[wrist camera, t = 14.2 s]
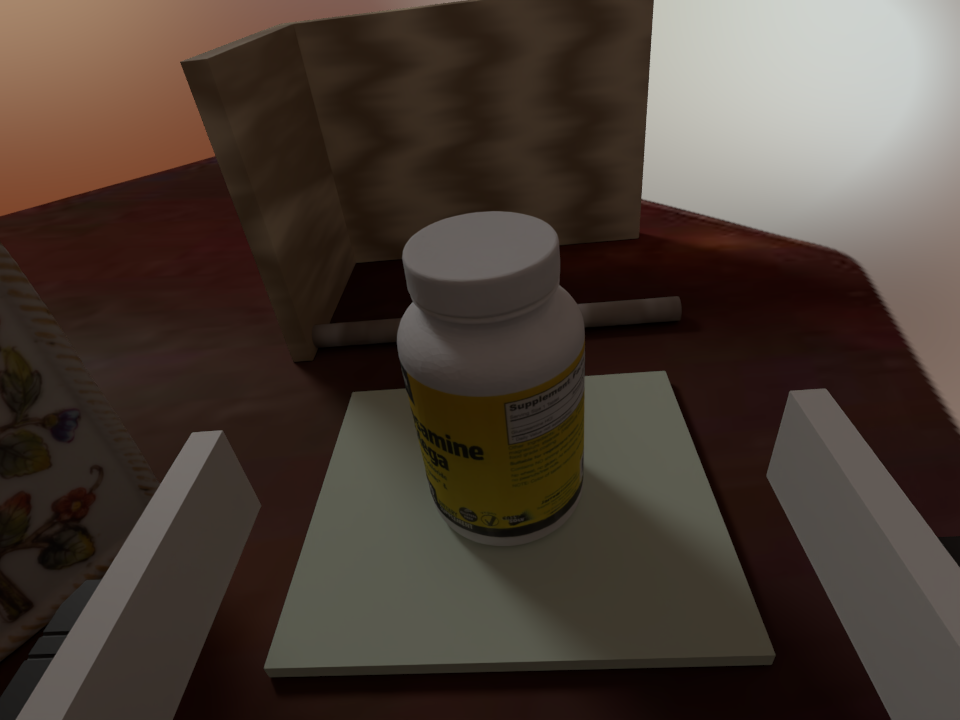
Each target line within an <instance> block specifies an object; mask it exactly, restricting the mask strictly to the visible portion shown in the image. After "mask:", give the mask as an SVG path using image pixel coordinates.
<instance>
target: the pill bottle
mask: <svg viewBox="0 0 960 720" xmlns="http://www.w3.org/2000/svg"><path fill="white" fill-rule="evenodd" d="M402 260H403V266H404V271H405V276H406V282H407V289H408V292H409V294H410V296H411V299H412V301H413V302H412V303H411V304H410V306H409V307H408V308H407V310H406V311H405V313H404V315H403V317H402V319H401V322H400V325H399V328H398V333H397V347H398V355H399V359H400V364H401V368H402V373H403V377H404V382H405V388H406V391H407V394H408V398H409V402H410V407H411V411H412V415H413V419H414V424H415V428H416V431H417V436H418V440H419V445H420V448H421V453H422V457H423V461H424V465H425V471H426V476H427V480H428V483H429V487H430V491H431V495H432V497H433V501H434V504H435V506H436V508H437V510H438V512H439V514H440V515H441V517H442V518H443V519H444V521H445V522H446V523H447V524H448V525H449V526H450V527H451V528H452V529H453V530H455V531H456V532H457V533H459V534H460V535H462V536H464V537H465V538H467V539H469V540H472V541H474V542H477V543H481V544H486V545H493V546H515V545H521V544H526V543H529V542H532V541H535V540H538V539H540V538H542V537H545V536H547V535H549V534H550V533H552V532H554V531H555V530H557V529H558V528H559V527H561V526H562V525H563V524H564V523H565V522H566V521H567V520H568V518H569V517H570V516H571V515H572V513H573V512H574V510H575V509H576V507H577V505H578V503H579V500H580V497H581V494H582V488H583V470H584V411H585V410H584V400H585V378H584V377H585V329H584V321H583V317H582V314H581V311H580V309H579V307H578V305H577V303H576V302H575V300H574V299H573V298H572V296H571V295H570V294H569V293H568V292H567V291H566V290H565V289H564V288H562V287H561V286H560V285H559V282H560V250H559V239H558V235H557V233H556V232H555V230H554V229H553V228H552V227H551V226H550V225H549V224H548V223H546V222H544V221H543V220H541V219H538V218H536V217H533V216H529V215H525V214H520V213H514V212H503V211H488V212H475V213H468V214H463V215H458V216H454V217H450V218H446V219H443V220H440V221H438V222H435V223H433V224H431V225H429V226H427V227H425V228H423V229H422V230H420V231H418V232H417V233H416V234H414V235H413V236H412V237H411V238H410V239H409V240H408V242H407V243H406V245H405V247H404V250H403V255H402Z"/></svg>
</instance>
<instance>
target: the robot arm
mask: <svg viewBox="0 0 960 720" xmlns="http://www.w3.org/2000/svg"><path fill="white" fill-rule="evenodd" d="M766 476H767V478H768V480H769V482H770V484H771V486H772V488H773V490H774V492H775V494H776V496H777V498H778V499H779V501H780V503H781V505H782V507H783V509H784V511H785V513H786V515H787V517H788V519H789V521H790V523H791V525H792V527H793V529H794V531H795V533H796V535H797V536H798V538H799V540H800V542H801V544H802V546H803V548H804V550H805V552H806V554H807V556H808V558H809V560H810V562H811V564H812V566H813V568H814V570H815V572H816V574H817V575H818V577H819V579H820V581H821V583H822V585H823V587H824V589H825V591H826V593H827V595H828V597H829V599H830V601H831V603H832V605H833V607H834V609H835V611H836V613H837V614H838V616H839V618H840V620H841V622H842V624H843V626H844V628H845V630H846V632H847V634H848V636H849V638H850V640H851V642H852V644H853V646H854V648H855V650H856V651H857V653H858V655H859V657H860V659H861V661H862V663H863V665H864V667H865V669H866V671H867V673H868V675H869V677H870V679H871V681H872V683H873V685H874V687H875V689H876V690H877V692H878V694H879V696H880V698H881V700H882V702H883V704H884V706H885V708H886V710H887V712H888V714H889V716H890V718H891V720H960V536H956V537H936V535H935V534H934V533H933V531H932V530H931V529H930V527H929V526H928V525H927V523H926V522H925V521H924V519H923V518H922V517H921V515H920V514H919V512H918V511H917V510H916V508H915V507H914V506H913V504H912V503H911V502H910V500H909V499H908V498H907V496H906V495H905V494H904V492H903V491H902V490H901V488H900V487H899V486H898V484H897V483H896V482H895V480H894V479H893V478H892V476H891V475H890V474H889V472H888V471H887V470H886V468H885V467H884V466H883V464H882V463H881V462H880V460H879V459H878V458H877V456H876V455H875V454H874V452H873V451H872V450H871V448H870V447H869V446H868V444H867V443H866V442H865V440H864V439H863V438H862V436H861V435H860V434H859V432H858V431H857V430H856V428H855V427H854V426H853V424H852V423H851V422H850V420H849V419H848V417H847V416H846V415H845V413H844V412H843V411H842V409H841V408H840V407H839V405H838V404H837V403H836V401H835V400H834V399H833V397H832V396H831V395H830V393H829V392H828V391H827V389H812V390H797V391H790V392H789V396H788V399H787V403H786V407H785V410H784V414H783V418H782V421H781V425H780V428H779V432H778V436H777V439H776V443H775V446H774V450H773V454H772V457H771V461H770V464H769V468H768V472H767V475H766ZM260 507H261V504H260V502H259V500H258V498H257V496H256V494H255V492H254V490H253V488H252V486H251V484H250V482H249V481H248V479H247V477H246V475H245V473H244V471H243V469H242V467H241V465H240V463H239V461H238V459H237V457H236V455H235V453H234V451H233V450H232V448H231V446H230V444H229V442H228V440H227V438H226V436H225V434H224V432H223V430H222V431H208V432H194V433H192V434H191V435H190V437H189V439H188V440H187V442H186V444H185V445H184V447H183V448H182V450H181V452H180V453H179V455H178V457H177V458H176V460H175V461H174V463H173V465H172V466H171V468H170V470H169V471H168V473H167V474H166V476H165V478H164V479H163V481H162V483H161V484H160V486H159V487H158V489H157V491H156V492H155V494H154V496H153V497H152V499H151V500H150V502H149V504H148V505H147V507H146V509H145V510H144V512H143V513H142V515H141V517H140V518H139V520H138V522H137V523H136V525H135V526H134V528H133V530H132V531H131V533H130V535H129V536H128V538H127V539H126V541H125V543H124V544H123V546H122V548H121V549H120V551H119V552H118V554H117V556H116V557H115V559H114V561H113V562H112V564H111V565H110V567H109V569H108V570H107V572H106V574H105V575H104V577H103V578H102V579H99V580H86V581H85V582H84V583H83V584H82V585H81V586H80V587H79V588H78V589H76V590H75V591H74V592H73V593H72V594H71V595H70V596H69V597H68V598H67V599H66V600H65V601H64V602H63V603H62V604H61V605H60V607H59V608H58V610H57V611H56V613H55V614H54V616H53V617H52V619H51V621H50V622H49V624H48V625H47V627H46V628H45V630H44V631H43V633H44V634H43V636H42V637H39V639H38V640H37V642H36V644H35V645H34V647H33V648H32V650H31V651H30V653H29V654H28V655H29V658H28V659H27V660H24V662H23V663H22V665H21V666H20V668H19V670H18V671H17V673H16V674H15V676H14V677H13V679H12V680H11V682H10V683H9V685H8V686H7V688H6V689H5V691H4V692H3V694H2V696H1V697H0V720H173V718H174V715H175V713H176V710H177V708H178V706H179V703H180V701H181V698H182V696H183V694H184V691H185V689H186V686H187V684H188V681H189V679H190V677H191V674H192V672H193V669H194V667H195V664H196V662H197V660H198V657H199V655H200V652H201V650H202V648H203V645H204V643H205V640H206V638H207V635H208V633H209V631H210V628H211V626H212V623H213V621H214V618H215V616H216V614H217V611H218V609H219V606H220V604H221V601H222V599H223V597H224V594H225V592H226V589H227V587H228V585H229V582H230V580H231V577H232V575H233V572H234V570H235V568H236V565H237V563H238V560H239V558H240V555H241V553H242V551H243V548H244V546H245V543H246V541H247V538H248V536H249V534H250V531H251V529H252V526H253V524H254V522H255V519H256V517H257V514H258V512H259V509H260Z"/></svg>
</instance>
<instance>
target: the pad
mask: <svg viewBox="0 0 960 720" xmlns="http://www.w3.org/2000/svg"><path fill="white" fill-rule="evenodd" d="M584 378H585V400H584V410H585V411H584V470H583V488H582V494H581V497H580V500H579V503H578V505H577V507H576V509H575V510H574V512H573V513H572V515H571V516H570V517H569V518H568V520H567V521H566V522H565V523H564V524H563V525H562V526H561V527H559V528H558V529H557V530H555V531H554V532H552V533H550V534H549V535H547V536H545V537H542V538H540V539H538V540H535V541H532V542H529V543H526V544H521V545H515V546H493V545H486V544H481V543H477V542H474V541H472V540H469V539H467V538H465V537H464V536H462V535H460V534H459V533H457V532H456V531H455V530H453V529H452V528H451V527H450V526H449V525H448V524H447V523H446V522H445V521H444V519H443V518H442V517H441V515H440V514H439V512H438V510H437V508H436V506H435V504H434V501H433V497H432V495H431V491H430V487H429V483H428V480H427V476H426V471H425V465H424V461H423V457H422V453H421V448H420V445H419V440H418V436H417V431H416V428H415V424H414V419H413V415H412V411H411V407H410V402H409V398H408V394H407V391H406V389H391V390H377V391H362V392H353V393H352V396H351V399H350V402H349V405H348V408H347V411H346V414H345V418H344V421H343V424H342V427H341V430H340V433H339V436H338V439H337V442H336V445H335V449H334V452H333V455H332V458H331V461H330V464H329V467H328V470H327V473H326V477H325V480H324V483H323V486H322V489H321V492H320V495H319V498H318V501H317V504H316V508H315V511H314V514H313V517H312V520H311V523H310V526H309V529H308V532H307V535H306V539H305V542H304V545H303V548H302V551H301V554H300V557H299V560H298V563H297V567H296V570H295V573H294V576H293V579H292V582H291V585H290V588H289V591H288V594H287V598H286V601H285V604H284V607H283V610H282V613H281V616H280V619H279V622H278V626H277V629H276V632H275V635H274V638H273V641H272V644H271V647H270V650H269V653H268V657H267V660H266V663H265V666H264V670H265V671H266V673H267V674H268V676H269V677H303V676H343V675H383V674H424V673H464V672H504V671H544V670H585V669H625V668H665V667H706V666H746V665H772V663H773V661H774V658H775V656H776V654H775V652H774V649H773V647H772V644H771V642H770V639H769V636H768V634H767V631H766V629H765V626H764V624H763V621H762V619H761V616H760V613H759V611H758V608H757V606H756V603H755V601H754V598H753V595H752V593H751V590H750V588H749V585H748V583H747V580H746V577H745V575H744V572H743V570H742V567H741V565H740V562H739V559H738V557H737V554H736V552H735V549H734V547H733V544H732V541H731V539H730V536H729V534H728V531H727V529H726V526H725V523H724V521H723V518H722V516H721V513H720V511H719V508H718V505H717V503H716V500H715V498H714V495H713V493H712V490H711V487H710V485H709V482H708V480H707V477H706V475H705V472H704V469H703V467H702V464H701V462H700V459H699V457H698V454H697V451H696V449H695V446H694V444H693V441H692V439H691V436H690V433H689V431H688V428H687V426H686V423H685V421H684V418H683V415H682V413H681V410H680V408H679V405H678V403H677V400H676V397H675V395H674V392H673V390H672V387H671V385H670V382H669V379H668V377H667V374H666V372H665V371H656V372H641V373H626V374H612V375H597V376H585V377H584Z"/></svg>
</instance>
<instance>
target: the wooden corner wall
mask: <svg viewBox="0 0 960 720" xmlns="http://www.w3.org/2000/svg"><path fill="white" fill-rule="evenodd" d="M653 3H654V0H467V1H460V2H451V3H443V4H435V5H428V6H419V7H411V8H403V9H396V10H387V11H379V12H372V13H364V14H355V15H348V16H340V17H332V18H324V19H316V20H308V21H300V22H293V23H284V24H279V25H276V26H274V27H271V28H269V29H266V30H263V31H260V32H258V33H255V34H253V35H250V36H248V37H245V38H242V39H239V40H237V41H234V42H232V43H229V44H226V45H224V46H221V47H218V48H216V49H213V50H210V51H208V52H205V53H203V54H200V55H198V56H195V57H192V58H190V59H187V60H184V61H182V62H180V63H181V65H182V68H183V70H184V73H185V76H186V78H187V81H188V84H189V86H190V89H191V92H192V95H193V97H194V100H195V102H196V105H197V108H198V110H199V113H200V115H201V118H202V121H203V124H204V126H205V129H206V132H207V134H208V137H209V140H210V142H211V145H212V147H213V150H214V153H215V156H216V158H217V161H218V163H219V166H220V169H221V171H222V174H223V177H224V179H225V182H226V185H227V187H228V190H229V193H230V195H231V198H232V201H233V203H234V206H235V208H236V211H237V214H238V216H239V219H240V222H241V224H242V227H243V230H244V232H245V235H246V238H247V240H248V243H249V246H250V248H251V251H252V254H253V256H254V259H255V261H256V264H257V267H258V269H259V272H260V275H261V277H262V280H263V283H264V285H265V288H266V291H267V293H268V296H269V299H270V301H271V304H272V306H273V309H274V312H275V314H276V317H277V320H278V322H279V325H280V328H281V330H282V333H283V336H284V338H285V341H286V344H287V346H288V349H289V352H290V354H291V357H292V359H293V362H298V361H312V360H313V359H314V357H315V355H316V352H317V350H318V348H323V347H336V346H349V345H362V344H376V343H389V342H397V333H398V328H399V325H400V322H401V319H402V318H396V319H383V320H370V321H357V322H345V323H332V324H329V323H330V321H331V318H332V316H333V314H334V312H335V309H336V307H337V305H338V303H339V300H340V298H341V296H342V294H343V291H344V289H345V287H346V284H347V282H348V280H349V278H350V275H351V273H352V271H353V269H354V266H355V264H356V263H362V262H373V261H384V260H396V259H402V255H403V250H404V247H405V245H406V243H407V242H408V240H409V239H410V238H411V237H412V236H413V235H414V234H416V233H417V232H418V231H420V230H422V229H423V228H425V227H427V226H429V225H431V224H433V223H435V222H438V221H440V220H443V219H446V218H450V217H454V216H458V215H463V214H468V213H475V212H488V211H503V212H514V213H520V214H525V215H529V216H533V217H536V218H538V219H541V220H543V221H544V222H546V223H548V224H549V225H550V226H551V227H552V228H553V229H554V230H555V232H556V233H557V235H558V239H559V245H567V244H578V243H590V242H601V241H612V240H624V239H635V238H639V226H640V210H641V193H642V177H643V162H644V146H645V130H646V114H647V99H648V98H647V97H648V83H649V67H650V51H651V35H652V19H653ZM577 305H578V307H579V309H580V311H581V314H582V317H583V321H584V328H588V327H602V326H615V325H628V324H642V323H655V322H668V321H679V320H680V319H681V313H682V308H681V301H680V298H679V297H678V296H675V297H662V298H649V299H637V300H624V301H611V302H599V303H586V304H577Z"/></svg>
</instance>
